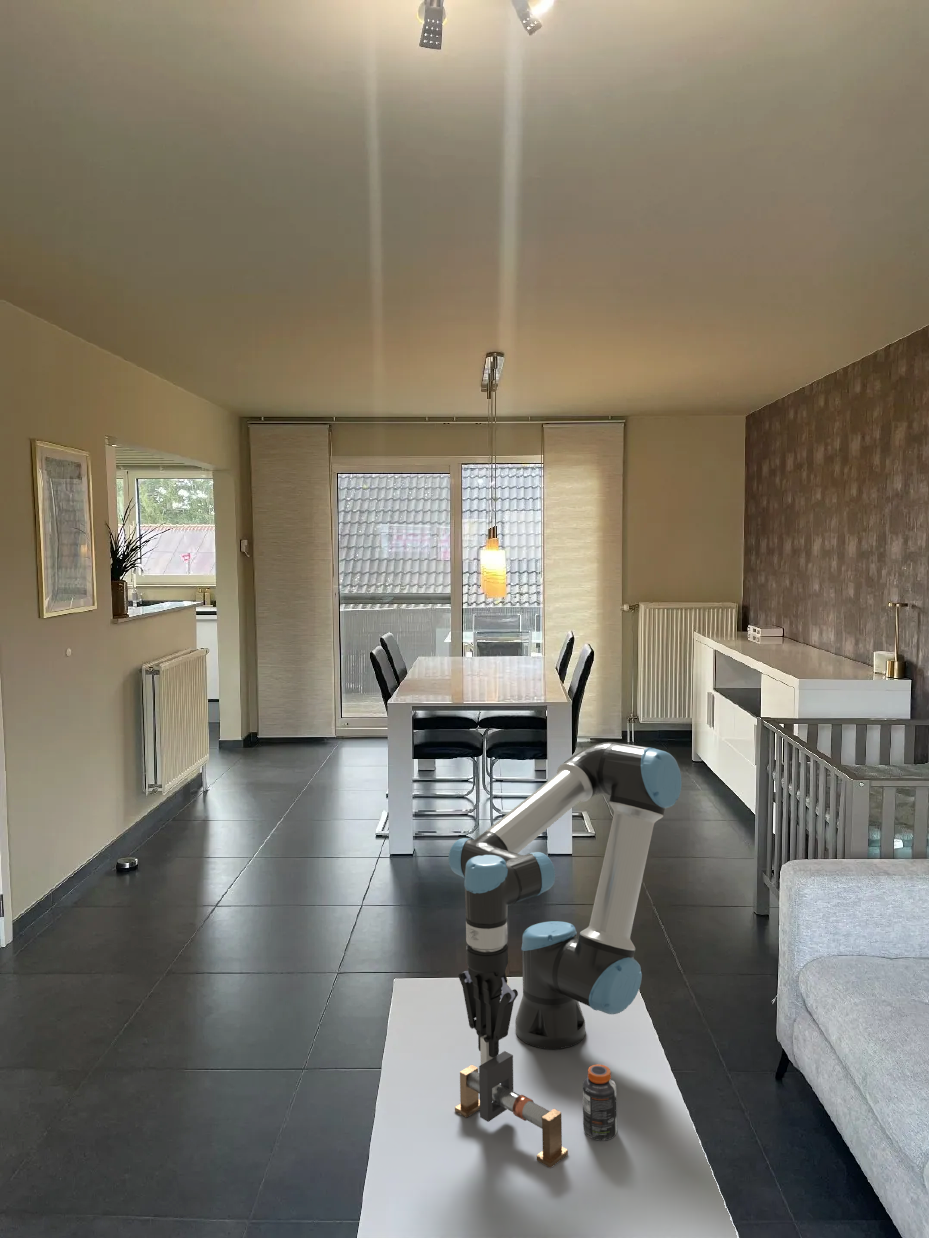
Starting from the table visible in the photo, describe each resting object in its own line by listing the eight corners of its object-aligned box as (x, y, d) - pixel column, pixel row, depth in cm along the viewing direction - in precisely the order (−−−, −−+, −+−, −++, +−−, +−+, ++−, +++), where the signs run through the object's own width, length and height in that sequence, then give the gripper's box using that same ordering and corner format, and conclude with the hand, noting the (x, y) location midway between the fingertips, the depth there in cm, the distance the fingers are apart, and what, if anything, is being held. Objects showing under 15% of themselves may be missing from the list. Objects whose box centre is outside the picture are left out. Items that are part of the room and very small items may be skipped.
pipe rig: (454, 1110, 163) (454, 1070, 163) (472, 1099, 167) (472, 1060, 166) (550, 1167, 147) (549, 1123, 147) (568, 1154, 151) (567, 1110, 150)
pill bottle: (621, 1126, 158) (621, 1065, 157) (609, 1145, 153) (609, 1082, 152) (590, 1116, 161) (590, 1056, 160) (578, 1135, 156) (577, 1073, 155)
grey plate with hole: (480, 1116, 157) (479, 1066, 157) (505, 1100, 162) (504, 1050, 162) (488, 1121, 156) (487, 1070, 155) (513, 1104, 161) (512, 1054, 160)
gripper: (447, 939, 161) (449, 1065, 162) (498, 961, 151) (500, 1094, 152) (475, 927, 166) (478, 1049, 167) (527, 947, 156) (529, 1076, 158)
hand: (488, 1070), depth 160 cm, fingers closed
